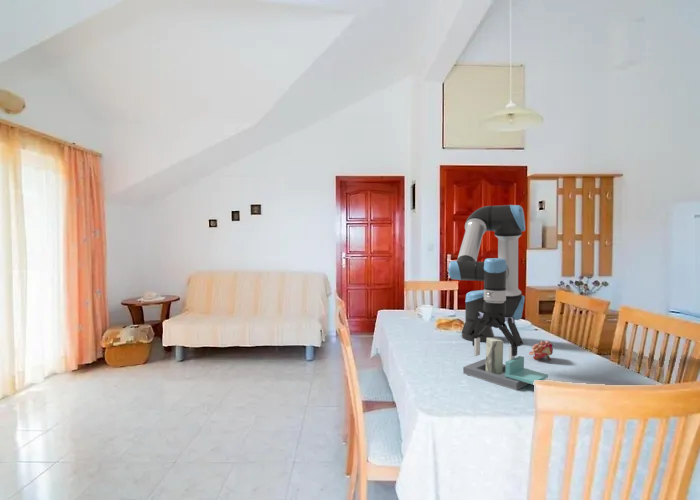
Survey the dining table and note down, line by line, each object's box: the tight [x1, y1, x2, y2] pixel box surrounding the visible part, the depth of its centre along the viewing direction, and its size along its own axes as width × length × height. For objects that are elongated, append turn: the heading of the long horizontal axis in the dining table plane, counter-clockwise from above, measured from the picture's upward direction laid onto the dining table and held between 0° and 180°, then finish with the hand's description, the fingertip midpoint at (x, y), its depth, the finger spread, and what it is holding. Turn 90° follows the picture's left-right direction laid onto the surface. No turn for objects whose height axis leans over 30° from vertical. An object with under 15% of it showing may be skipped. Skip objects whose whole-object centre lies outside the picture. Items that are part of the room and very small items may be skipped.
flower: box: [528, 340, 554, 362], centre depth 158 cm, size 10×9×8 cm
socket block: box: [462, 358, 529, 391], centre depth 139 cm, size 20×14×2 cm
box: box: [485, 336, 504, 375], centre depth 141 cm, size 5×4×13 cm
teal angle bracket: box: [505, 355, 549, 385], centre depth 132 cm, size 10×10×5 cm
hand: (493, 359), depth 141 cm, fingers open, 13 cm apart
